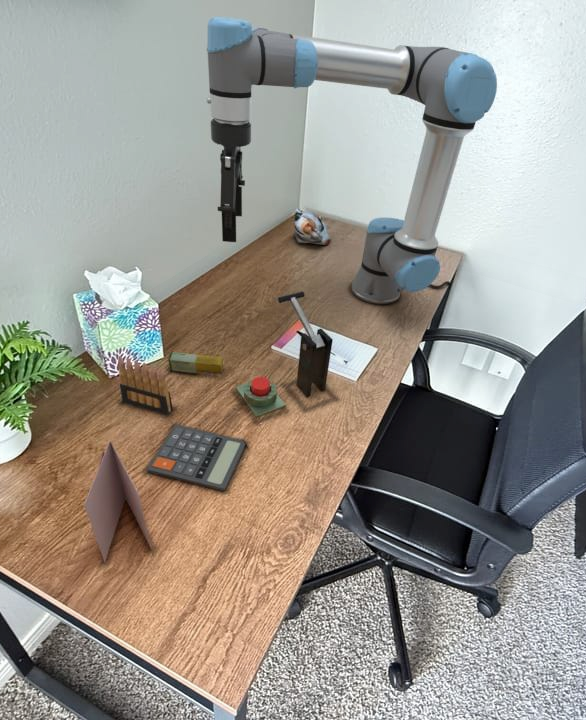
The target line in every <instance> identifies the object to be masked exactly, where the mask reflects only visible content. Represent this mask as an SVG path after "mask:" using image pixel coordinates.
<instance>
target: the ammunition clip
mask: <svg viewBox="0 0 586 720" xmlns="http://www.w3.org/2000/svg"><path fill="white" fill-rule="evenodd" d="M117 366H118V376H119V380H120V381H119V382H120V383H119V389H120V394H121V401H122V403H124V404H128V405H132V406H135V407H137V408H141V409H145V410H148V411H153V412H156V413H160V414H163V415H167V416H169V415H170V414H171V412H172V411H173V410H174V408H173V403H172V398H171V391H170V390H169V388H168V387H169V386H168V382H167V379H166V375H165V371H164V369H163V367H162V366H160V367H159V368H158V371H157V369H156V367H155V365H153V364H151V365H150V370H149V368H148V364H146V362H143V363H142V367H141V365H140V363H139V362H138V359H136V360H134V365H133V363H132V361H131V359H130V358H129V357H127V358H126V362H125V360H124V359H123V357H122V356H121V355H119V356H118V358H117ZM133 366H134V367H133ZM157 372H158V373H157Z"/></svg>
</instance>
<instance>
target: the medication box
mask: <svg viewBox="0 0 586 720" xmlns="http://www.w3.org/2000/svg"><path fill="white" fill-rule="evenodd" d="M167 360H168V365H169V370H170V372H172V371H173V372H181V373H190V374H200V372H208V373H215V374H222V372H223V369H224V360H223V357H222V356H214V355H213V356H212V355H204V354H193V353H184V352H174V351H170V353H169V355H168V358H167Z"/></svg>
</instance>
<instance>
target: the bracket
mask: <svg viewBox="0 0 586 720" xmlns="http://www.w3.org/2000/svg"><path fill="white" fill-rule="evenodd" d="M318 334H320V336H321V338H322V340H323V342H324V343H325V346H324V348H323V349H322V350H321V351H318V352H316V346H317V344H316V343H315V342H314V341H313V340H312V339H311V338H310V337H309V336H308V334H307V332H306V333H305V332H304V333H301V335H300V344H299V345H300V346H299V353H298V355H299V356H298V366H297V375H296V387H297V388H298V389H299V390H300V392H301V393H302V394H303V395H304V396H305V398H310V397H311V394H312V387H313V384H314V385H315V386H316V388H317V389H318V390H319V391H320V392H321V393H323V392H326V387H327V381H328V373H329V366H330V360H331V353H332V347H333V340H334V339H333V338H332V337H331V336H330V335H329V334H328V333H327V332H326V331H325V330H324V329H323V328H318V329H317V330H316V335H318Z"/></svg>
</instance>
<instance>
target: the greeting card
mask: <svg viewBox="0 0 586 720" xmlns="http://www.w3.org/2000/svg"><path fill="white" fill-rule="evenodd" d="M125 502H126V503H127V504H128V506H129V507H130V510H131V512H132V514H133V516H134V518H135V519H136V522H137V524H138V526H139V527H140V530H141V532H142V534H143V536H144V538H145V539H146V541H147V544H148V545H149V548H150V549H151V550H152V548H153V547H152V544H151V540H150V536H149V530H148V528H147V523H146V519H145V516H144V509H143V506H142V502H141V498H140V493H139V491H138V489H137V488H136V486H135V484H134V482H133V480H132V478H131V476H130V474H129V472H128V470H127V469H126V466H125V465H124V463H123V461H122V459H121V457H120V456H119V453H118V452H117V450H116V448H115V447H114V444H113V443H112V440H109V442H108V444H107V446H106V449H105V451H104V452H102V456H101V458H100V461H99V465H98V467H97V471H96V473H95V476H94V479H93V481H92V484H91V487H90V488H89V491H88V494H87V497H86V499H85V502H84V503H83V507H84V510H85V512H86V516H87V518H88V521H89V523H90V527H91V530H92V532H93V534H94V537H95V539H96V542H97V545H98V548H99V550H100V553H101V556H102V559H103V561H104V562H106V560H107V557H108V553H109V551H110V548H111V545H112V542H113V538H114V536H115V532H116V529H117V527H118V523H119V521H120V517H121V513H122V511H123V507H124V504H125Z"/></svg>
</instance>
